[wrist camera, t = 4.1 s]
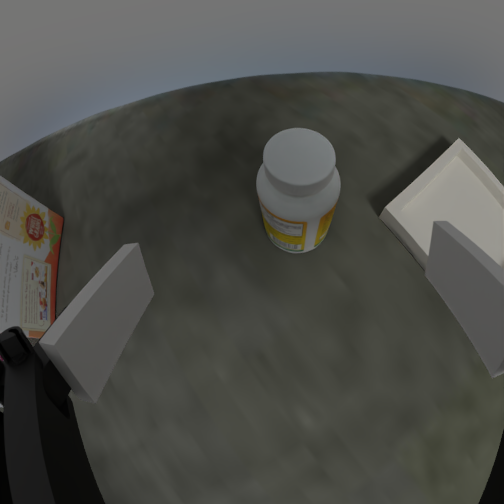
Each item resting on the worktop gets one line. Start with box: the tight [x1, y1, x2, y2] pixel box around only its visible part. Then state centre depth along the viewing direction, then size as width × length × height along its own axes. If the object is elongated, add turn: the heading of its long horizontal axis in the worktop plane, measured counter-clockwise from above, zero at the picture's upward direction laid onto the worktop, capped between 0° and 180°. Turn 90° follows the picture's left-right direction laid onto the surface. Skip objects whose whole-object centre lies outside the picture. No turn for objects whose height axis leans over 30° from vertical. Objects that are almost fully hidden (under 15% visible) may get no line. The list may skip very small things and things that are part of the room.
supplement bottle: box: [256, 128, 341, 253], centre depth 19 cm, size 5×5×10 cm
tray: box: [379, 138, 504, 271], centre depth 20 cm, size 14×14×2 cm
